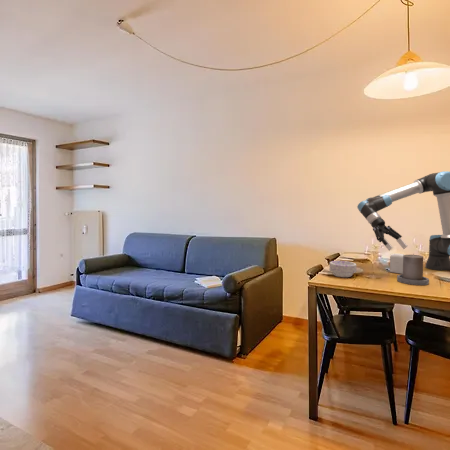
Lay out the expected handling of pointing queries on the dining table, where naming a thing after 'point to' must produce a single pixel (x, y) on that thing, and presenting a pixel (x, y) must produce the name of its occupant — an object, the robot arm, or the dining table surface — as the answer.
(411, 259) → the pillar candle
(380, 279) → the dining table surface
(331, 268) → the paper bowls
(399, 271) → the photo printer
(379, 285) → the dining table surface
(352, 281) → the dining table surface
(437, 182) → the robot arm
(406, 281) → the candle dish
